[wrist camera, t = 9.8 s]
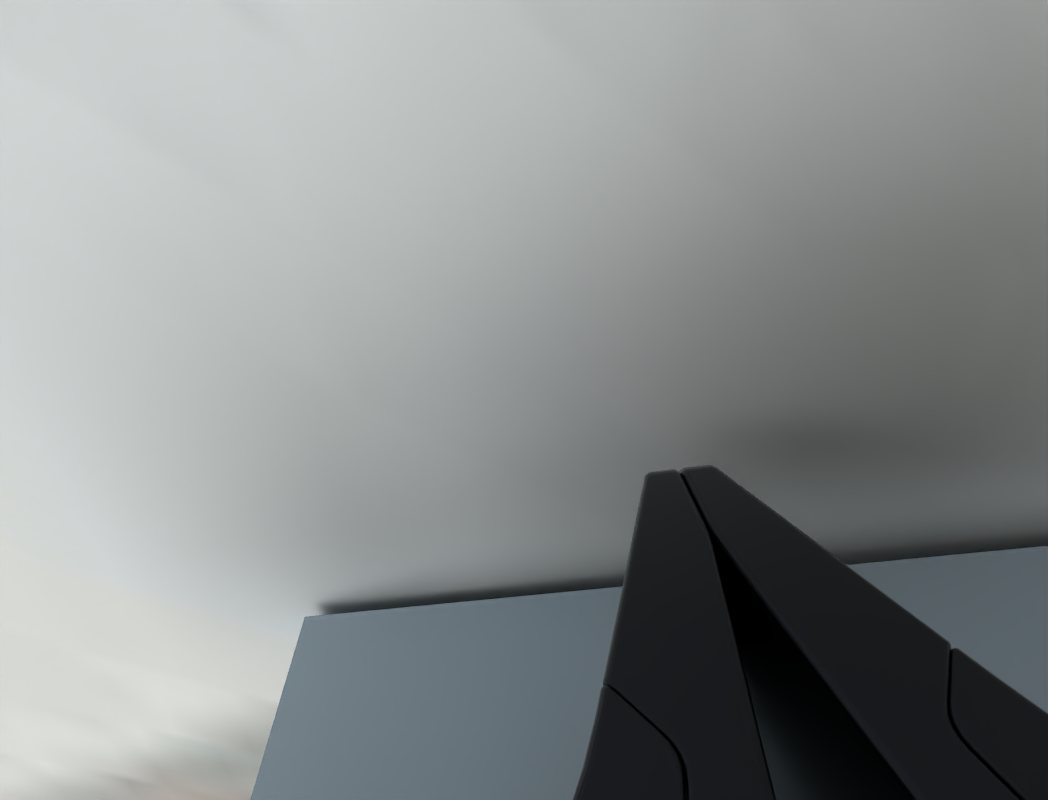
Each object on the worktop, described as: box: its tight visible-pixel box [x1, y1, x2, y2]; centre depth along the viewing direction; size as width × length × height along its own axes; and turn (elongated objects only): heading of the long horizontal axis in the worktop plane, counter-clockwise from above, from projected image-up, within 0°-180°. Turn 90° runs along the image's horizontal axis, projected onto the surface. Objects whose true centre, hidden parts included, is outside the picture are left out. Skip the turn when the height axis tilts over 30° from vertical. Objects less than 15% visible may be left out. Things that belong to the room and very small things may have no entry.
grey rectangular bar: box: [251, 546, 1048, 800], centre depth 10 cm, size 15×2×4 cm, turn 95°
